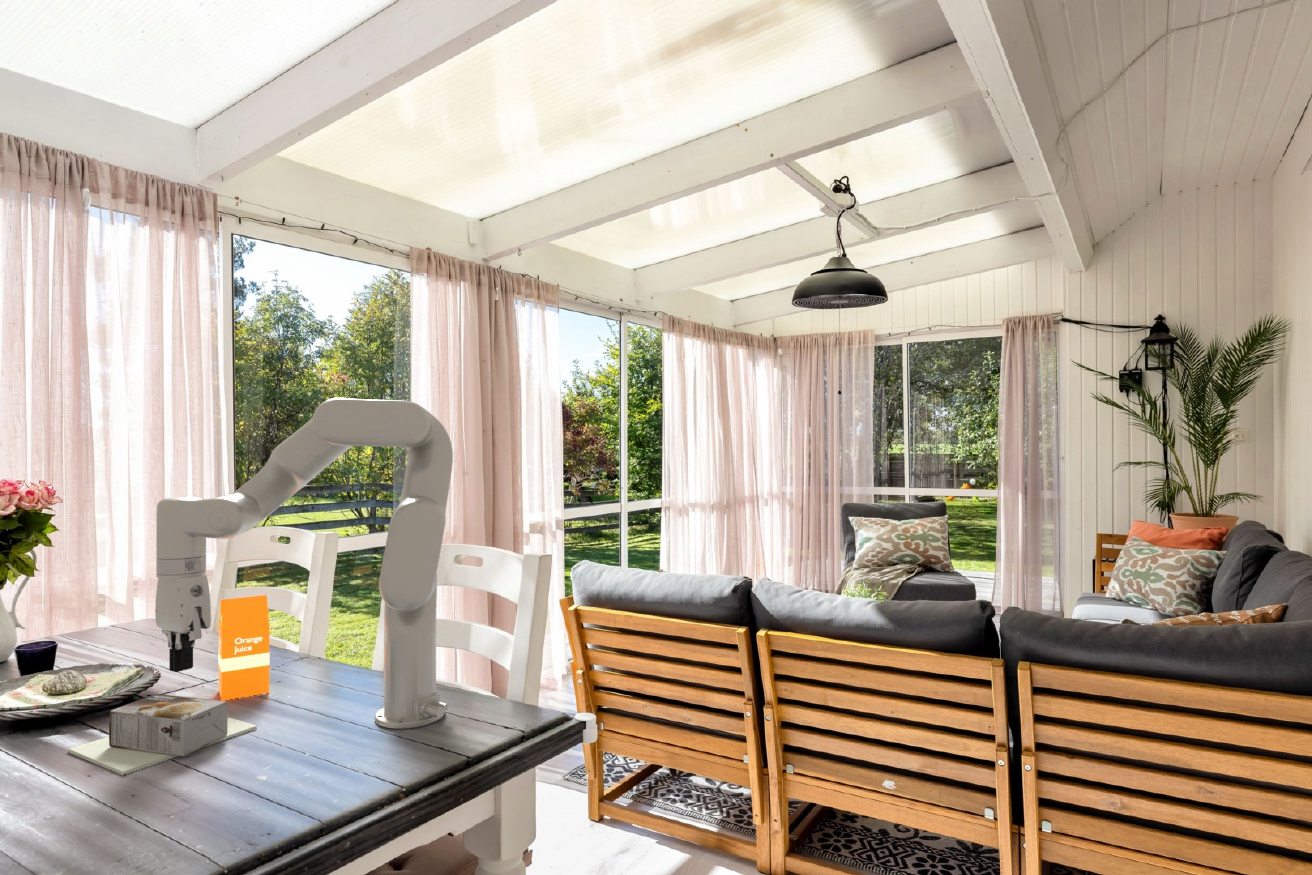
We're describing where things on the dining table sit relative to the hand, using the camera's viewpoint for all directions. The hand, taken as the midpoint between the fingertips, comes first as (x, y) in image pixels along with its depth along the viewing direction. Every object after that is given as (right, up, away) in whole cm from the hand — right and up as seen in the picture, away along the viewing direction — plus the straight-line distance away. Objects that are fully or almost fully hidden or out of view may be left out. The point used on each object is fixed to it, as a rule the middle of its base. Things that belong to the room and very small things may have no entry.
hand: (181, 669), depth 133 cm
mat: (-2, -12, -1) cm, 12 cm away
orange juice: (-2, -13, +24) cm, 27 cm away
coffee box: (+8, -8, -6) cm, 13 cm away
